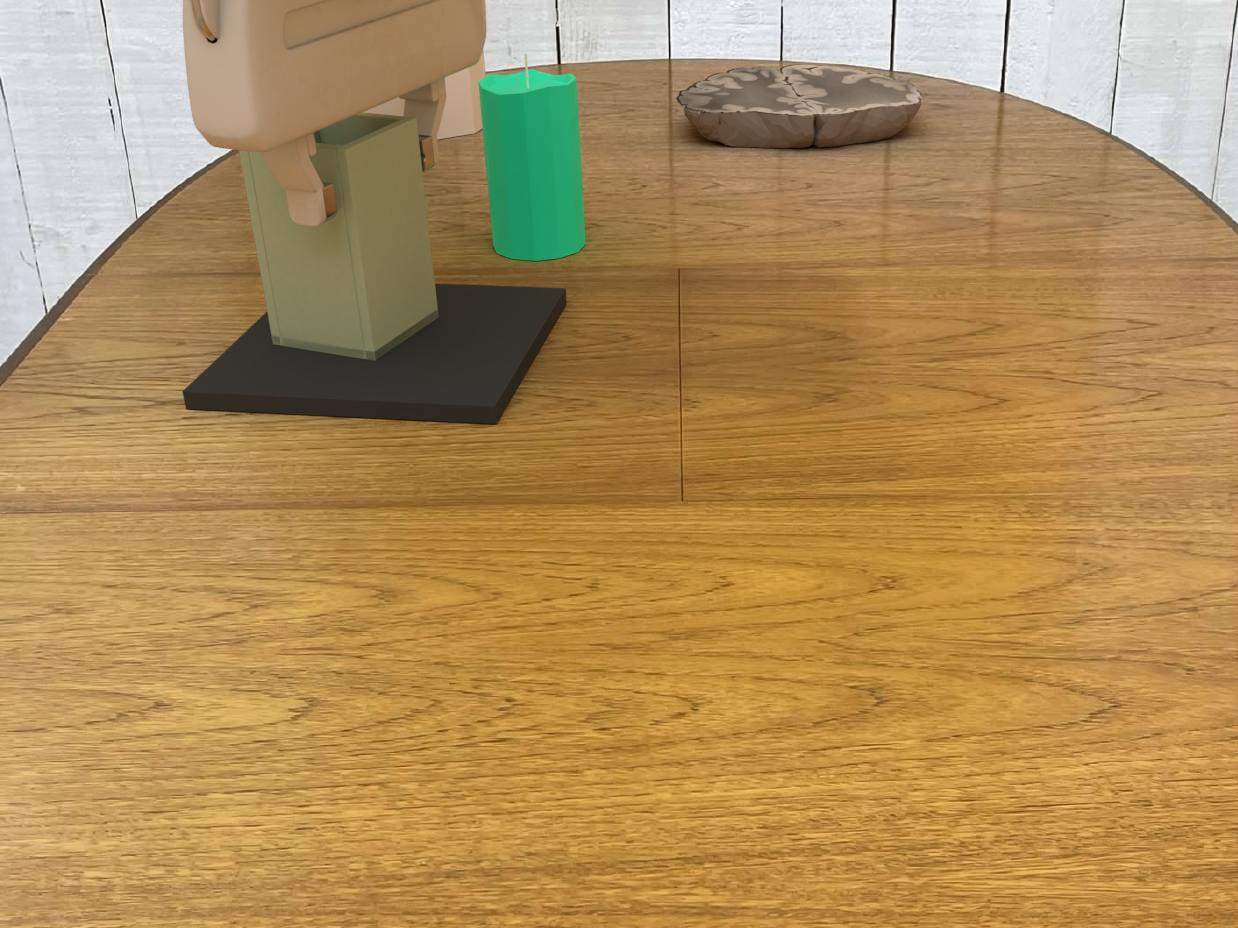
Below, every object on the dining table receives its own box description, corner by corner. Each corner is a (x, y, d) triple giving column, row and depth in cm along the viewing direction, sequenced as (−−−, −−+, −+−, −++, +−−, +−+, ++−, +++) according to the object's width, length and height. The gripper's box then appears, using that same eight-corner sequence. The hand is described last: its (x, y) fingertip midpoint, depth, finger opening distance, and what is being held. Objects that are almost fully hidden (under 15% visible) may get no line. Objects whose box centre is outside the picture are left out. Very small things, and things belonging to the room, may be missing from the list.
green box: (236, 137, 70) (345, 149, 68) (312, 107, 75) (416, 117, 73) (272, 344, 76) (375, 361, 74) (341, 303, 81) (439, 317, 79)
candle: (602, 249, 91) (592, 56, 85) (516, 267, 89) (500, 69, 82) (560, 224, 96) (548, 39, 90) (478, 240, 93) (460, 51, 87)
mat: (185, 409, 71) (181, 391, 71) (304, 294, 85) (301, 278, 84) (496, 424, 69) (494, 406, 69) (566, 304, 83) (565, 287, 83)
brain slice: (883, 95, 125) (885, 60, 124) (937, 147, 111) (940, 108, 109) (662, 105, 123) (661, 70, 122) (687, 160, 109) (687, 120, 107)
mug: (492, 111, 122) (482, -10, 117) (486, 138, 115) (475, 10, 110) (351, 115, 121) (334, -6, 117) (336, 142, 114) (317, 14, 109)
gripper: (244, -66, 56) (298, 267, 63) (497, -122, 73) (518, 148, 80) (118, -73, 58) (184, 251, 65) (391, -125, 75) (421, 138, 82)
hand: (369, 194), depth 73 cm, fingers open, 8 cm apart
